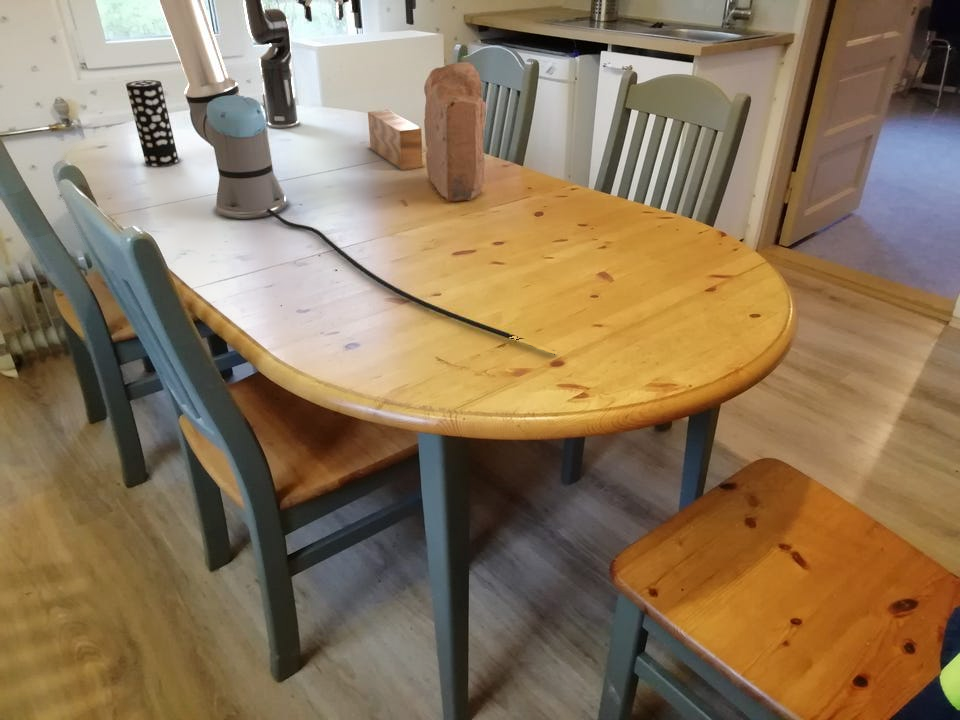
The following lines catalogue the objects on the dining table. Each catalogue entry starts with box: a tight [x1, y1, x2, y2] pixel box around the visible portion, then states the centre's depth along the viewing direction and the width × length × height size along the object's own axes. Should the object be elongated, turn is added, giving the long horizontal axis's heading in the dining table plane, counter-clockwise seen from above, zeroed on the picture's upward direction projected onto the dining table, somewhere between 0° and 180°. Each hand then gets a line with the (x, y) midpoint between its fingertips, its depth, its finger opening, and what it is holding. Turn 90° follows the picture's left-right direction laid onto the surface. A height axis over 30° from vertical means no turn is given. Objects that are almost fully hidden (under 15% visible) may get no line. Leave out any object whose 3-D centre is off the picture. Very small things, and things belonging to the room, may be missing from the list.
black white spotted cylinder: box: [125, 79, 179, 167], centre depth 181 cm, size 8×8×20 cm
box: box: [367, 109, 424, 171], centre depth 190 cm, size 23×6×10 cm, turn 29°
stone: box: [423, 61, 487, 202], centre depth 163 cm, size 22×11×28 cm, turn 18°
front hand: (384, 26), depth 169 cm, fingers open, 13 cm apart
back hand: (324, 20), depth 191 cm, fingers open, 8 cm apart
